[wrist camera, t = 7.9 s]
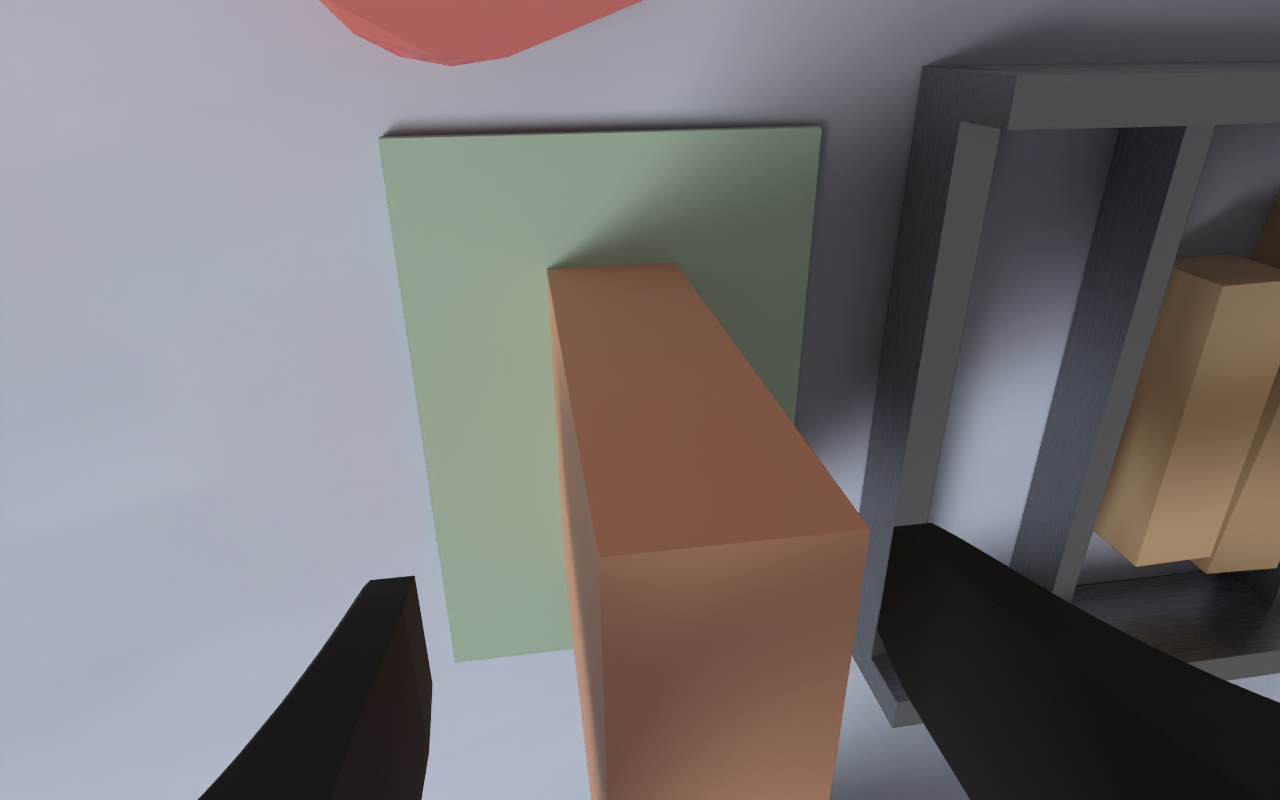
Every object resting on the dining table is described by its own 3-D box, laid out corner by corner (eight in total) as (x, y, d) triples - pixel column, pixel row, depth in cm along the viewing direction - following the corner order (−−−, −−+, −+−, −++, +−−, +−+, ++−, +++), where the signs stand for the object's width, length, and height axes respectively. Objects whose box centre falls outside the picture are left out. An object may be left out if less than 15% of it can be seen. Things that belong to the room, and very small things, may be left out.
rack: (1237, 588, 22) (1336, 664, 20) (841, 637, 21) (892, 728, 18) (1458, 58, 16) (1647, 65, 14) (922, 66, 14) (1017, 75, 12)
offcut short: (1143, 506, 21) (1210, 556, 19) (1075, 515, 20) (1135, 567, 18) (1221, 250, 18) (1310, 278, 16) (1142, 256, 17) (1223, 286, 15)
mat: (772, 616, 20) (775, 624, 20) (455, 653, 19) (454, 662, 18) (816, 125, 15) (821, 127, 14) (380, 136, 14) (377, 138, 13)
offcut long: (1205, 517, 21) (1276, 568, 19) (1141, 522, 21) (1206, 573, 19) (1344, 185, 17) (1450, 206, 15) (1268, 185, 17) (1366, 206, 15)
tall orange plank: (671, 553, 18) (803, 970, 10) (564, 564, 18) (614, 1004, 10) (675, 262, 15) (870, 529, 7) (546, 268, 15) (598, 558, 7)
